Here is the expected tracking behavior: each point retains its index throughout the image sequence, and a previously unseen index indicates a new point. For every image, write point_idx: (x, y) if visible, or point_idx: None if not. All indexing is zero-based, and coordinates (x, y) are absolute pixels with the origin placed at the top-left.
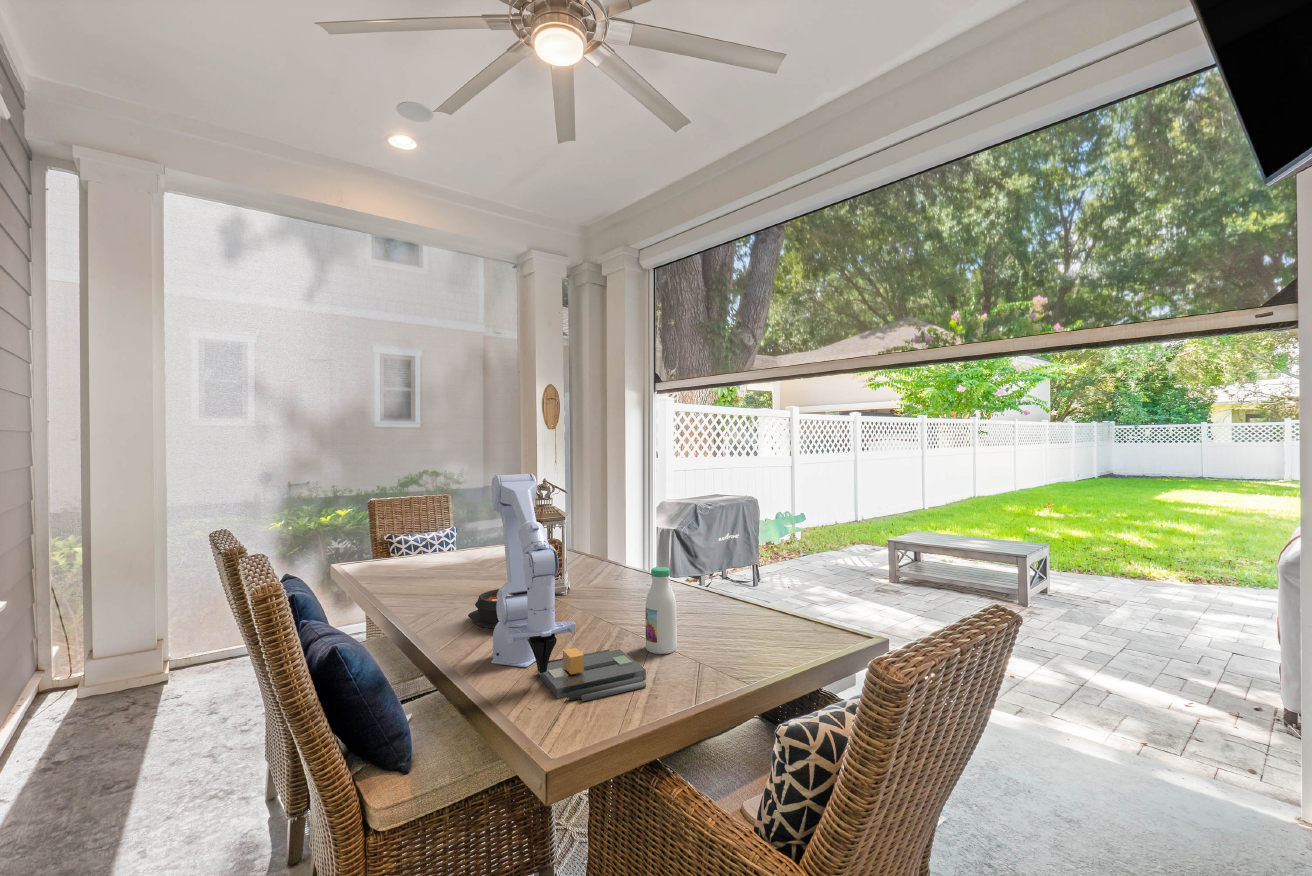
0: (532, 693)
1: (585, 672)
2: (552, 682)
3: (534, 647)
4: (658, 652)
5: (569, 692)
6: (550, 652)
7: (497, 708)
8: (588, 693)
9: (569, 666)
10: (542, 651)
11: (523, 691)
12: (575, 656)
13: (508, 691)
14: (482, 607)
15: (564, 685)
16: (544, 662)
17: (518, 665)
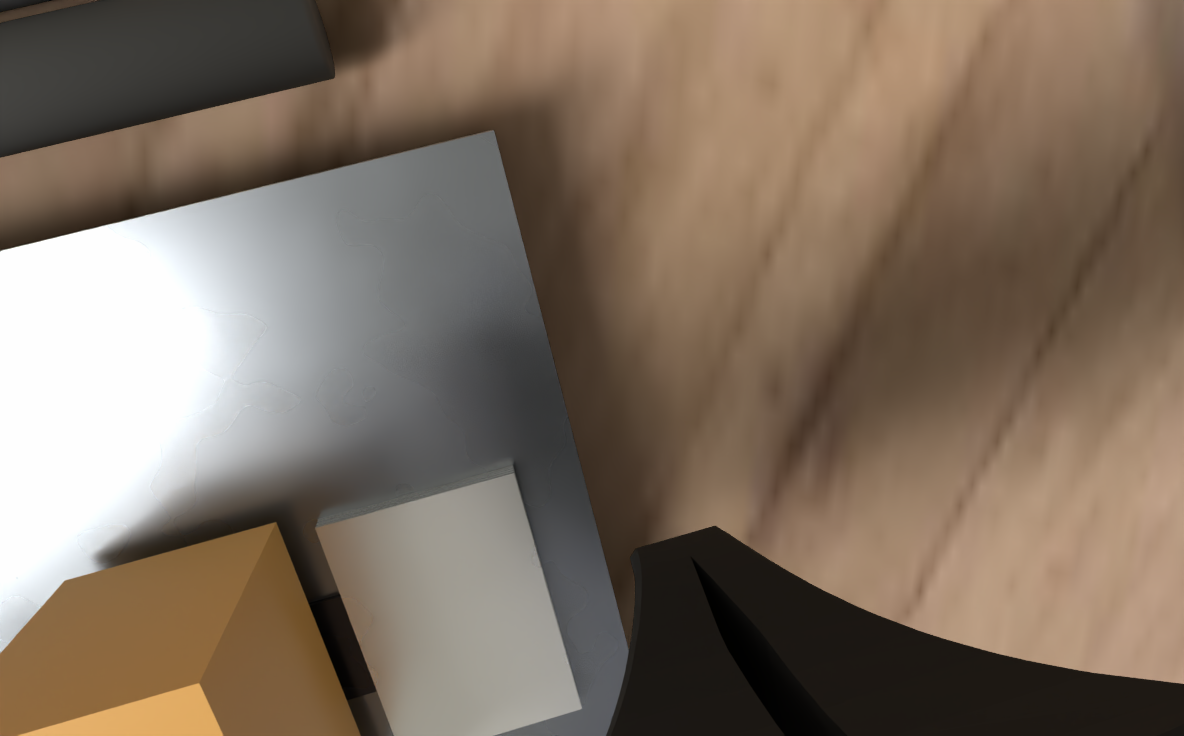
0: (759, 352)
1: None
2: (544, 362)
3: (1167, 684)
4: None
5: (307, 20)
6: (631, 721)
7: (1153, 60)
8: (17, 19)
9: (267, 615)
10: (841, 695)
11: (845, 424)
12: (86, 724)
13: (986, 456)
14: None
15: (376, 219)
16: (705, 596)
17: None
